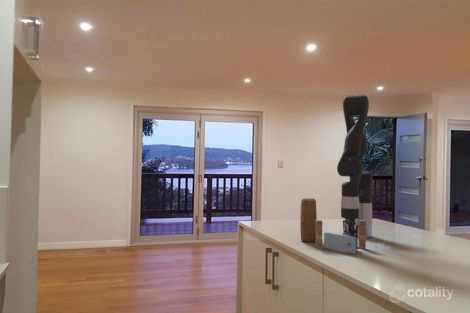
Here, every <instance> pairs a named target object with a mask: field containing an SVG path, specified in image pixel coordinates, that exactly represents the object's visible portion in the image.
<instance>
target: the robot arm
mask: <svg viewBox="0 0 470 313" xmlns="http://www.w3.org/2000/svg"><path fill="white" fill-rule="evenodd" d="M369 103H370V102H369V98H368V96H367V95H363V94H362V95H361V94H360V95H348V96H344V97H343V100H342V109H343V110H342V111H343V116H344V122H345V130H346V136H345V139H344V145H343V152H342V154H341V156H340V159H339V161H338V163H337V167H336V170H337V173H338V175H339V176H340V177H349V181H347V182H343V183H342V184H341V199H340V200H341V201H340V217H341V218H343V220H342V230H343V232H342V234H343V233H348V234H349V236H352V237H356V239H357V235H358V224H359V220H364V221H366V239H369V238H372V237H373V182H374V181H373V179H374V177H373V173H372V171H369V170H364V164H363V163H362V160H363V159H364V158H365V157H366V155H367V153H368V138H367V136H366V133H364V131H365V126H366V122H367V119H368V118H367V117H368V113H369V109H370V104H369ZM354 117H358V119H357V120H356V122H355V119H354ZM360 190H364V192H363V193H361V194H359V193H360V192H359V191H360ZM353 235H354V236H353Z"/></svg>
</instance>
